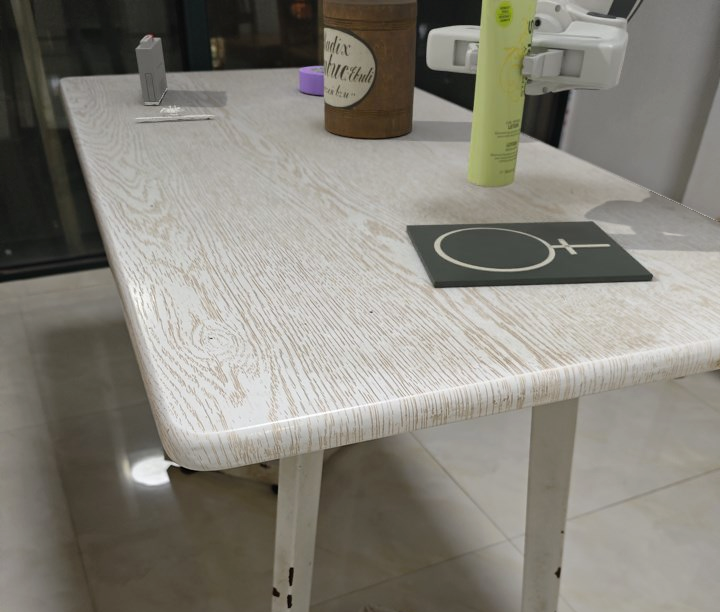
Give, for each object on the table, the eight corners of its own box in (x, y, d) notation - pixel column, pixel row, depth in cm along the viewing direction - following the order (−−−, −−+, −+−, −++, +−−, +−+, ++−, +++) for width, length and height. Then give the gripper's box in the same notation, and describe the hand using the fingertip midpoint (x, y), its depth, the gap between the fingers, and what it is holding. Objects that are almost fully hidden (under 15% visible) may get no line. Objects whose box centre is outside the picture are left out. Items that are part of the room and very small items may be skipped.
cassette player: (154, 89, 143) (145, 31, 137) (167, 89, 143) (159, 31, 137) (144, 105, 131) (134, 42, 124) (158, 105, 131) (150, 42, 125)
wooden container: (308, 124, 120) (304, -35, 107) (379, 116, 127) (384, -35, 113) (355, 143, 111) (357, -29, 97) (429, 133, 117) (441, -30, 104)
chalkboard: (591, 226, 82) (593, 219, 82) (651, 280, 70) (654, 272, 69) (406, 230, 80) (406, 223, 79) (434, 287, 67) (434, 279, 67)
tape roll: (326, 83, 151) (326, 63, 149) (368, 91, 146) (368, 70, 143) (287, 90, 144) (287, 69, 142) (329, 99, 139) (329, 76, 136)
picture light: (133, 123, 119) (131, 109, 118) (131, 117, 122) (129, 104, 121) (216, 119, 123) (214, 105, 121) (212, 113, 126) (211, 100, 125)
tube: (514, 191, 72) (546, -46, 60) (464, 189, 73) (486, -47, 61) (513, 176, 77) (543, -48, 64) (466, 174, 77) (487, -49, 65)
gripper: (455, 7, 79) (403, 18, 69) (643, 19, 71) (615, 33, 62) (450, 71, 83) (400, 90, 73) (628, 89, 75) (599, 113, 66)
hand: (500, 64), depth 67 cm, fingers closed on tube, 4 cm apart
